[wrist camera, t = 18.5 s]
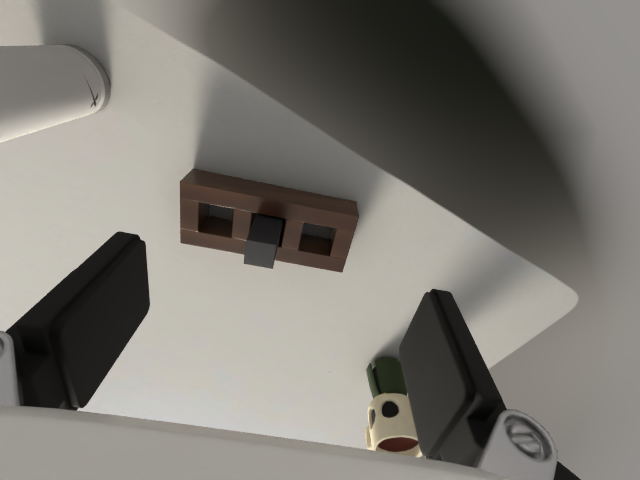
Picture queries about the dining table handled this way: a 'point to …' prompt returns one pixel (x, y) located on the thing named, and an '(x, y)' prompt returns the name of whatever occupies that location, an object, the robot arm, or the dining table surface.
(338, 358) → the dining table surface
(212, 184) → the holder
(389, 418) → the character mug
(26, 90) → the travel mug
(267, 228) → the peg
